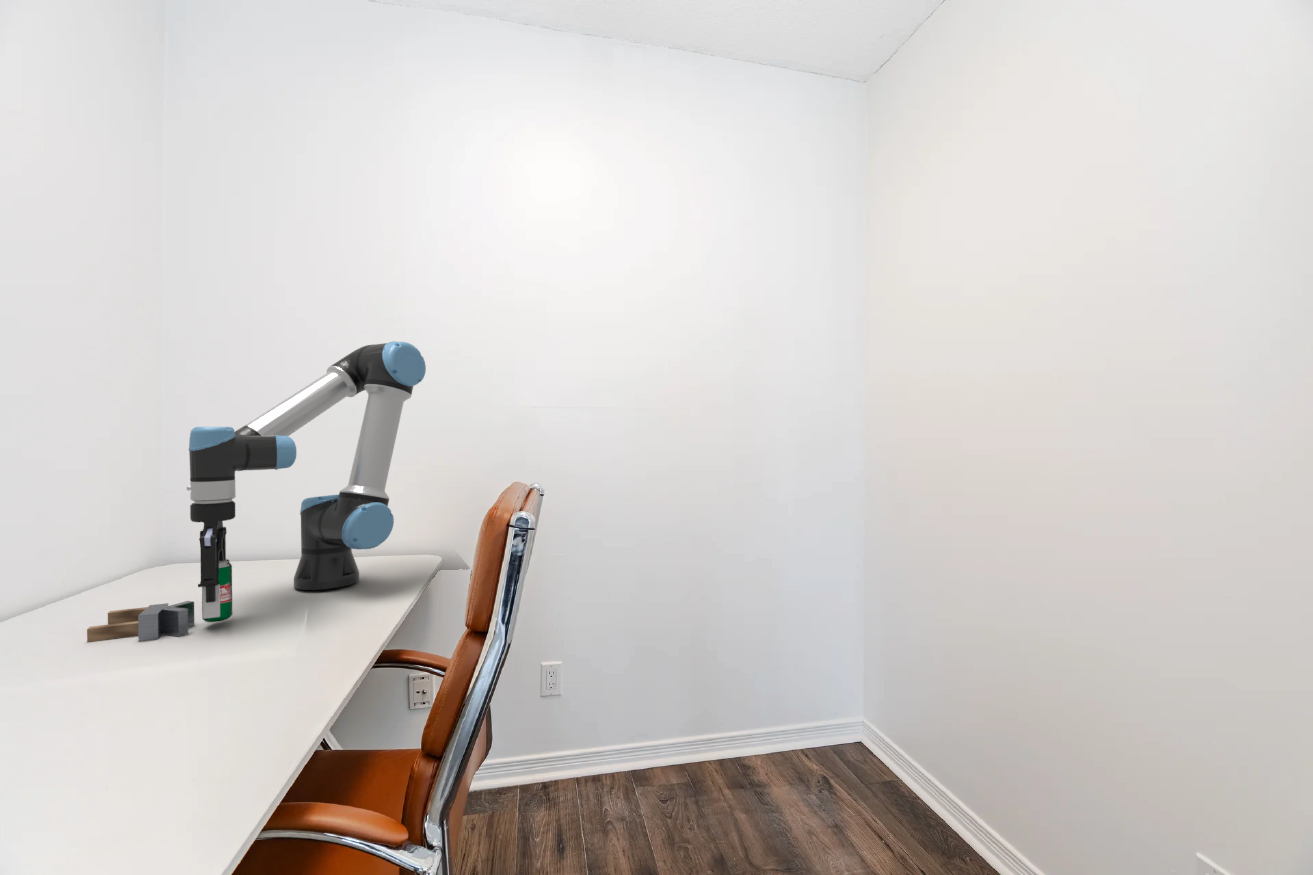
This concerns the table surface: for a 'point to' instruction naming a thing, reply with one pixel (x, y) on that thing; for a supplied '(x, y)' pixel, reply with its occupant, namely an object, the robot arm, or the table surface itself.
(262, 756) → the table surface
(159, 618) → the v block
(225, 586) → the soda can
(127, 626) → the channel
